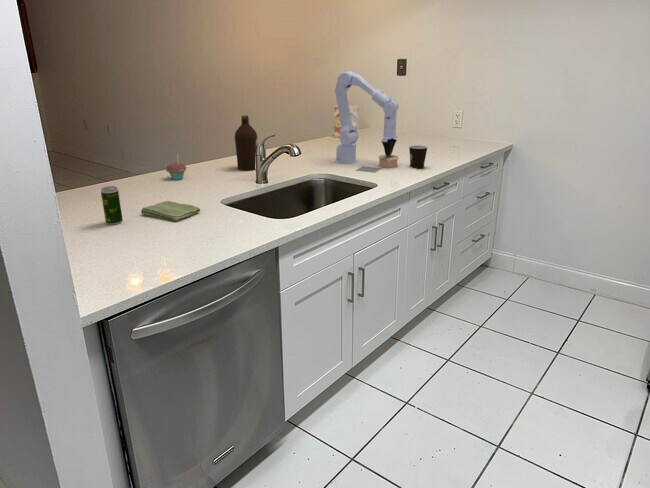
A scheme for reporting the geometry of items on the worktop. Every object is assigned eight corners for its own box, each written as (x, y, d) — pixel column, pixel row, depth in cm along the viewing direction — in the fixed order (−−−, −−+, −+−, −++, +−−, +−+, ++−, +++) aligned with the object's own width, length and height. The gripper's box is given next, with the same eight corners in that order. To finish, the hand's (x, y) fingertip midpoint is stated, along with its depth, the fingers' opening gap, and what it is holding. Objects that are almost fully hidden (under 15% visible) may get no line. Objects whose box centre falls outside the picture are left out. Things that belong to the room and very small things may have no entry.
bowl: (376, 167, 249) (377, 159, 247) (382, 164, 256) (382, 156, 255) (393, 169, 245) (394, 161, 244) (398, 165, 253) (399, 157, 251)
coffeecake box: (334, 137, 330) (334, 106, 323) (335, 135, 336) (335, 105, 329) (357, 138, 327) (357, 106, 320) (358, 136, 334) (359, 105, 327)
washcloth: (177, 224, 171) (176, 215, 170) (139, 216, 179) (138, 207, 178) (203, 213, 182) (202, 205, 181) (166, 206, 190) (165, 198, 189)
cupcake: (190, 177, 230) (188, 150, 226) (179, 181, 223) (177, 154, 218) (174, 175, 233) (171, 149, 228) (163, 180, 225) (160, 153, 221)
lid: (376, 159, 247) (376, 149, 245) (381, 156, 255) (381, 146, 253) (396, 161, 244) (396, 151, 242) (400, 157, 252) (400, 147, 250)
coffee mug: (425, 169, 245) (427, 149, 241) (407, 168, 246) (408, 148, 243) (426, 164, 255) (427, 144, 252) (408, 163, 257) (410, 144, 253)
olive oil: (239, 171, 240) (235, 117, 231) (234, 167, 249) (231, 114, 240) (261, 170, 243) (258, 116, 234) (256, 165, 252) (253, 113, 243)
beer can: (117, 219, 175) (112, 185, 170) (126, 222, 172) (121, 187, 167) (102, 223, 171) (97, 188, 167) (111, 226, 168) (105, 191, 163)
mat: (355, 171, 241) (355, 170, 241) (362, 167, 250) (362, 166, 250) (375, 173, 238) (375, 172, 237) (382, 169, 246) (382, 168, 246)
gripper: (393, 129, 236) (391, 158, 241) (402, 124, 248) (400, 152, 253) (378, 128, 239) (377, 156, 244) (388, 124, 251) (387, 151, 256)
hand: (388, 154), depth 249 cm, fingers closed on lid, 2 cm apart
